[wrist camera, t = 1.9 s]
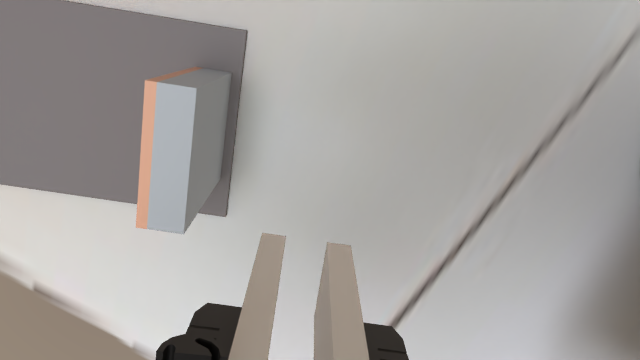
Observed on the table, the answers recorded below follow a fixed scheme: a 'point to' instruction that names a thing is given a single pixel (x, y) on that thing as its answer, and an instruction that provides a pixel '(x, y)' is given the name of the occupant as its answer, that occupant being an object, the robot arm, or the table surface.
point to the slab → (181, 146)
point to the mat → (97, 93)
